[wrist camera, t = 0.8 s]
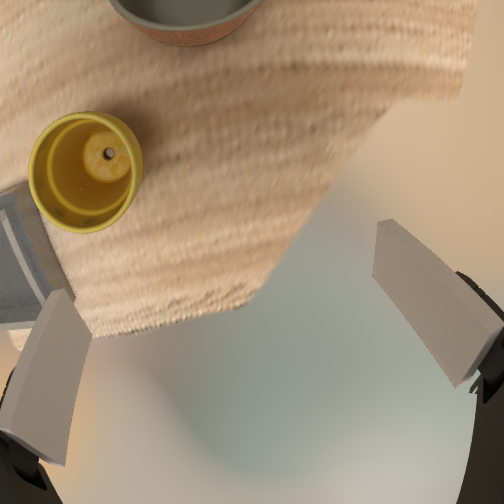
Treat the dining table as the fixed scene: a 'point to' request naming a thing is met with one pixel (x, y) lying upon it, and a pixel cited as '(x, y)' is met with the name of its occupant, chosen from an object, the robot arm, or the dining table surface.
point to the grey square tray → (25, 261)
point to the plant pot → (85, 171)
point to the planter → (185, 18)
